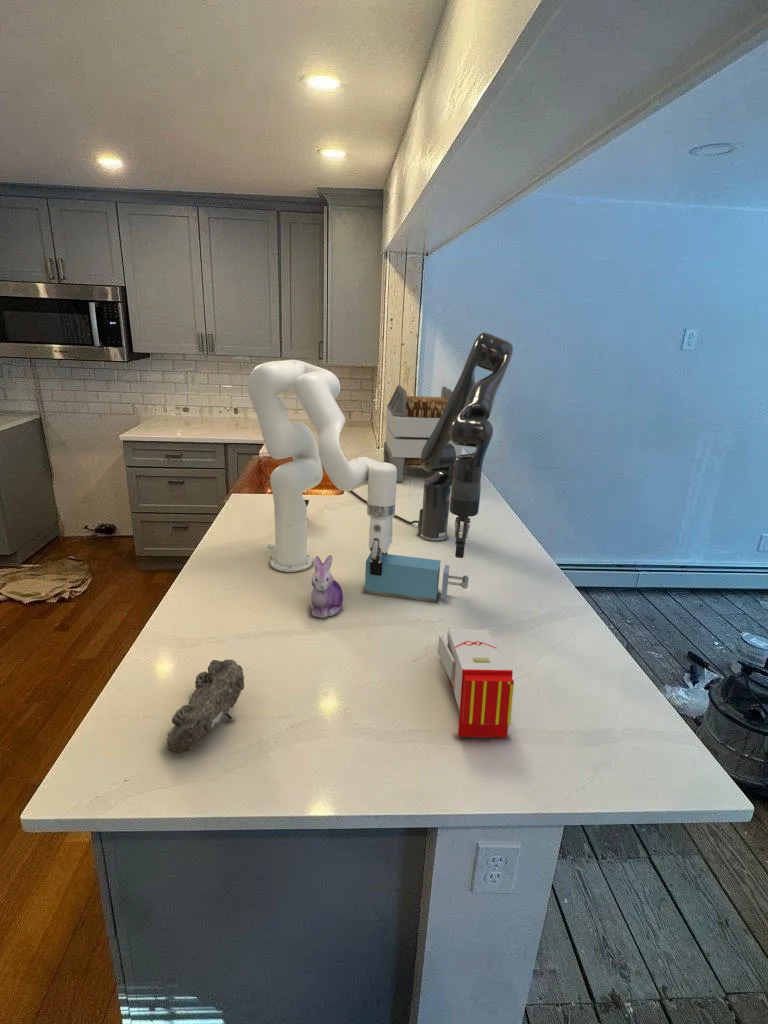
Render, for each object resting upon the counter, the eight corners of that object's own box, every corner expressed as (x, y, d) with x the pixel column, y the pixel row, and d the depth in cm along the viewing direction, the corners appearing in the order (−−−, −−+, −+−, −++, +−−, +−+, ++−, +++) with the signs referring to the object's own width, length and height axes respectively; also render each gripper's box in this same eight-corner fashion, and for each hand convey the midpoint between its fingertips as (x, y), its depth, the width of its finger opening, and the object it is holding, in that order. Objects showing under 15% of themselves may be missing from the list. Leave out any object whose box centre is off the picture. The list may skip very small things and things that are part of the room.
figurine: (316, 622, 141) (316, 568, 136) (302, 604, 150) (302, 552, 145) (351, 615, 146) (352, 562, 140) (335, 597, 154) (336, 546, 149)
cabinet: (438, 591, 160) (440, 560, 157) (435, 602, 154) (438, 570, 151) (369, 582, 164) (370, 551, 160) (364, 592, 158) (365, 561, 154)
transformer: (382, 463, 289) (386, 382, 275) (445, 464, 293) (451, 384, 279) (390, 482, 257) (394, 392, 243) (460, 483, 261) (468, 394, 247)
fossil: (192, 660, 117) (244, 628, 112) (224, 691, 120) (276, 661, 115) (142, 746, 98) (202, 712, 93) (182, 779, 101) (242, 748, 96)
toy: (488, 613, 130) (523, 677, 101) (484, 667, 133) (517, 744, 104) (435, 612, 130) (455, 676, 101) (432, 666, 133) (451, 743, 103)
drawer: (467, 593, 158) (469, 567, 155) (466, 602, 153) (468, 576, 151) (382, 582, 162) (383, 557, 160) (378, 590, 157) (379, 564, 155)
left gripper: (388, 521, 143) (385, 584, 149) (400, 500, 159) (397, 558, 166) (360, 518, 145) (358, 581, 151) (374, 497, 161) (372, 555, 167)
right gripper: (478, 505, 140) (472, 568, 145) (480, 489, 152) (474, 548, 158) (448, 501, 141) (443, 565, 147) (452, 486, 153) (447, 545, 159)
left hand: (378, 568), depth 158 cm, fingers closed on cabinet, 6 cm apart
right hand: (459, 556), depth 152 cm, fingers closed
